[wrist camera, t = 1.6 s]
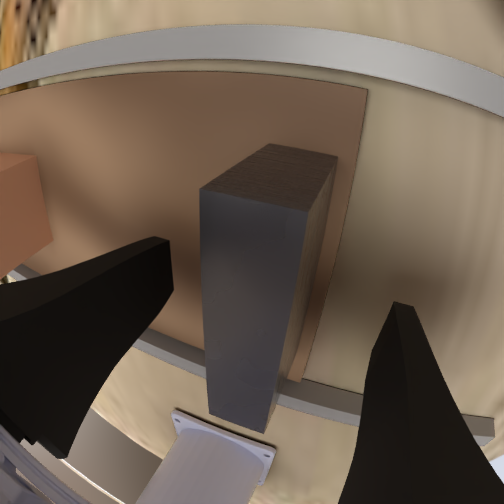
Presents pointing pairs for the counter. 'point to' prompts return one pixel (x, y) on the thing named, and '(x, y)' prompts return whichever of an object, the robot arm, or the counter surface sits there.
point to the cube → (21, 211)
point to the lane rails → (283, 51)
